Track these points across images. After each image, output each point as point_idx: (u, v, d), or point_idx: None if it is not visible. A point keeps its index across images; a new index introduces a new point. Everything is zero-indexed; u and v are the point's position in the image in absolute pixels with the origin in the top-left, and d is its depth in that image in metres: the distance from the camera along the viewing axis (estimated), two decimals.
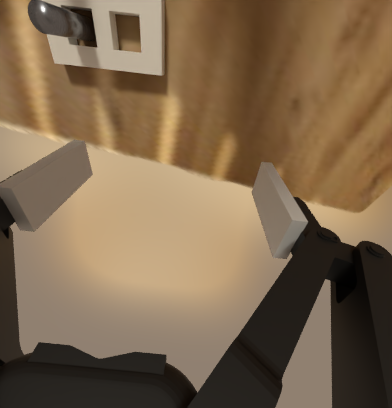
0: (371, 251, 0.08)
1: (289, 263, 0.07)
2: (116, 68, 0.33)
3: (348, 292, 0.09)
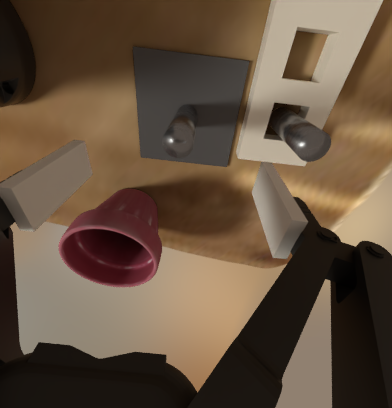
0: (371, 251, 0.08)
1: (289, 263, 0.07)
2: (341, 84, 0.23)
3: (348, 292, 0.09)
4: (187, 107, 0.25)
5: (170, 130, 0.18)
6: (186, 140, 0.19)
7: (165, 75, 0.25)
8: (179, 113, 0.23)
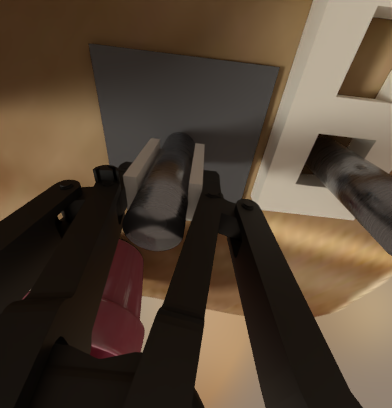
0: (245, 206, 0.10)
1: (190, 226, 0.08)
2: None
3: (240, 245, 0.10)
4: (179, 139, 0.16)
5: (135, 210, 0.09)
6: (169, 226, 0.09)
7: (144, 89, 0.16)
8: (163, 155, 0.13)
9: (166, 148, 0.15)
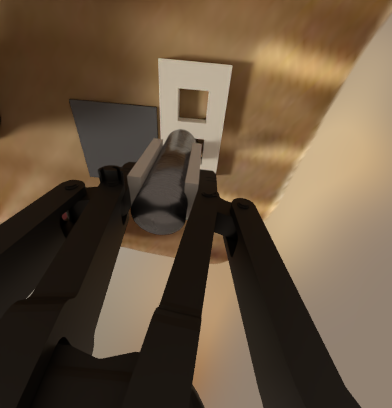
0: (240, 206, 0.10)
1: (186, 226, 0.08)
2: (221, 124, 0.31)
3: (236, 244, 0.10)
4: (180, 135, 0.17)
5: (143, 196, 0.10)
6: (173, 211, 0.10)
7: (96, 118, 0.33)
8: (166, 149, 0.15)
9: (169, 143, 0.16)
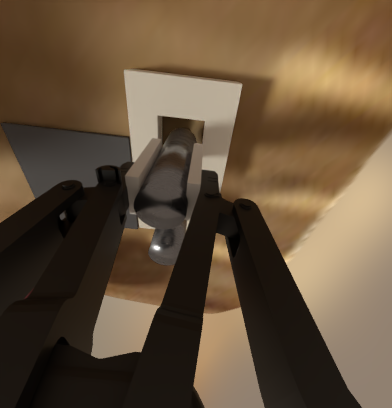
0: (243, 206, 0.10)
1: (188, 226, 0.08)
2: (223, 166, 0.21)
3: (239, 244, 0.10)
4: (181, 134, 0.17)
5: (146, 191, 0.10)
6: (174, 205, 0.11)
7: (44, 149, 0.23)
8: (167, 147, 0.15)
9: (170, 141, 0.16)
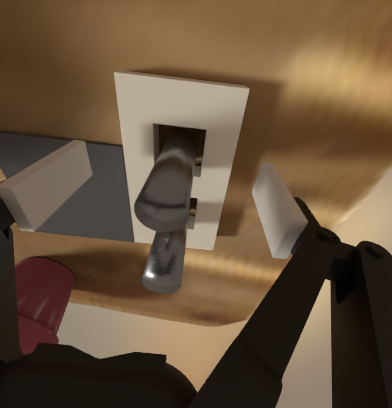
0: (371, 251, 0.08)
1: (289, 263, 0.07)
2: (226, 178, 0.19)
3: (348, 292, 0.09)
4: (182, 135, 0.17)
5: (146, 193, 0.10)
6: (175, 208, 0.11)
7: (30, 158, 0.21)
8: (168, 149, 0.15)
9: (170, 143, 0.16)
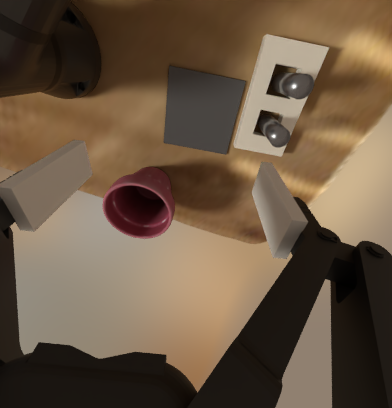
0: (371, 251, 0.08)
1: (289, 263, 0.07)
2: (304, 101, 0.35)
3: (348, 292, 0.09)
4: None
5: (300, 75, 0.26)
6: (309, 84, 0.26)
7: (188, 85, 0.37)
8: (288, 73, 0.31)
9: (286, 73, 0.32)
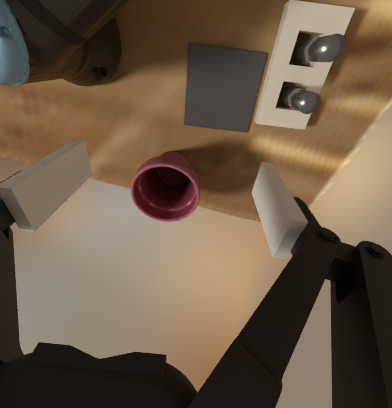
0: (371, 251, 0.08)
1: (289, 263, 0.07)
2: (328, 68, 0.34)
3: (348, 292, 0.09)
4: None
5: (332, 36, 0.26)
6: (340, 45, 0.26)
7: (209, 63, 0.36)
8: (314, 38, 0.30)
9: (310, 39, 0.31)
